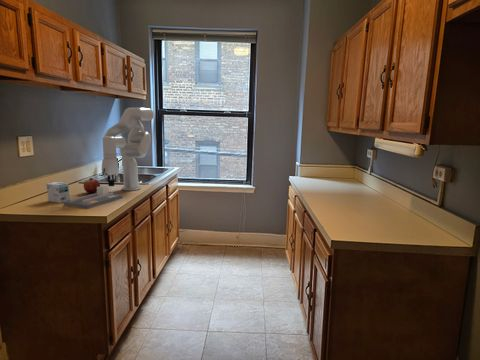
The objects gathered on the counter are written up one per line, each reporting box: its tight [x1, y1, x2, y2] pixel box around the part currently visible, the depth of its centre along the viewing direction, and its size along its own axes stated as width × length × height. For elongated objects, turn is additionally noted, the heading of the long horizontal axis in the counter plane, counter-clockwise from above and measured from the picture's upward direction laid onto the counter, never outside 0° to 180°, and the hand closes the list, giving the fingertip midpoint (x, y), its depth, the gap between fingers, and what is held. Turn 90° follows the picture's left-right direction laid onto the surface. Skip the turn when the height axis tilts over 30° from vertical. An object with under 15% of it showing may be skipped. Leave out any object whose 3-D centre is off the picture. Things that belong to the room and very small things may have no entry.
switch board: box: [63, 191, 123, 209], centre depth 189 cm, size 26×18×4 cm
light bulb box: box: [46, 181, 71, 204], centre depth 189 cm, size 11×7×11 cm, turn 66°
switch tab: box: [96, 185, 110, 196], centre depth 194 cm, size 4×5×5 cm
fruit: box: [83, 177, 101, 194], centre depth 211 cm, size 11×10×10 cm
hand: (111, 185), depth 201 cm, fingers closed
